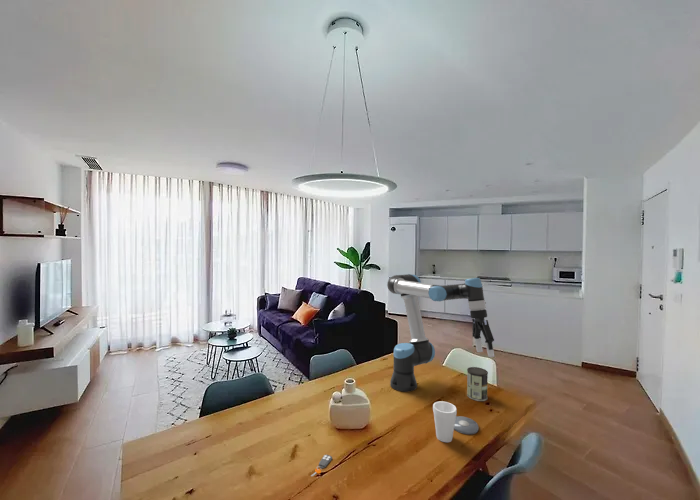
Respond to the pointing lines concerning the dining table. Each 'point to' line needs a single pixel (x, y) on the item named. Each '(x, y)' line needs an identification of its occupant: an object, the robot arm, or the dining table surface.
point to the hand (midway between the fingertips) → (485, 354)
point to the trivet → (465, 425)
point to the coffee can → (477, 383)
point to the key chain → (323, 463)
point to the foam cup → (444, 420)
